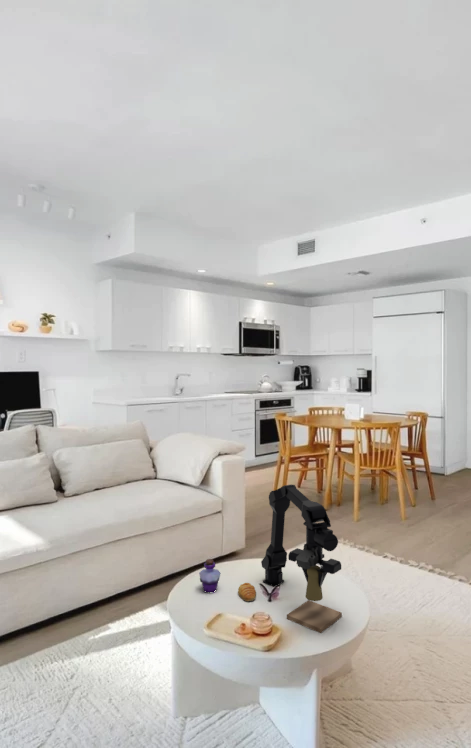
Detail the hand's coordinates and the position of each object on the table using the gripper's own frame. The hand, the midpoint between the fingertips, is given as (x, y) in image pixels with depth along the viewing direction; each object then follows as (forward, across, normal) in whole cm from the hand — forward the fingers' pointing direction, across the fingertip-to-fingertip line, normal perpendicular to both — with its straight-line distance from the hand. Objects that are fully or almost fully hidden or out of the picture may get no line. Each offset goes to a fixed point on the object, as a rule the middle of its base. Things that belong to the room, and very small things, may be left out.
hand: (314, 584), depth 177 cm
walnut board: (+12, 0, 0) cm, 12 cm away
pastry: (+13, -28, -3) cm, 31 cm away
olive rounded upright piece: (+5, 0, 0) cm, 5 cm away
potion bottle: (+12, -43, -9) cm, 45 cm away
